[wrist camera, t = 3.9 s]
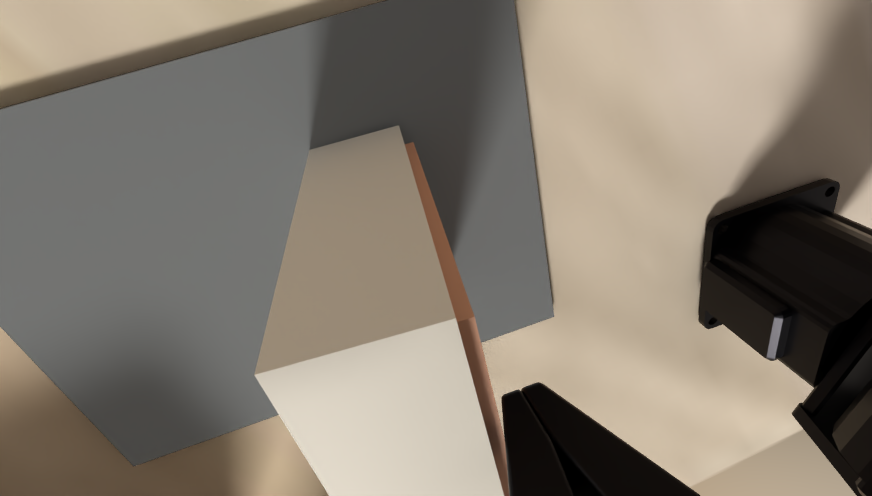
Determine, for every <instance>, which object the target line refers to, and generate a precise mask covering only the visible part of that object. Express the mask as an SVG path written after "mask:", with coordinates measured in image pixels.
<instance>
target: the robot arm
mask: <svg viewBox="0 0 872 496" xmlns="http://www.w3.org/2000/svg"><path fill="white" fill-rule="evenodd" d="M839 188H840V185H839V183H838V182H836V181H834V180H831V179H828V178H826V179H822V180H819V181H816V182H813V183H810V184H808V185H805V186H802V187H799V188H796V189H793V190H790V191H787V192H784V193H782V194H779V195H776V196H773V197H770V198H767V199H764V200H761V201H759V202H756V203H753V204H750V205H747V206H744V207H741V208H738V209H736V210H733V211H730V212H727V213H724V214H721V215H718V216H716V217H714V218H713V219H712V220H711V221H710V222H709V223H708V225H707V228H706V239H705V251H704V262H703V274H702V286H701V297H700V309H699V322H700V323H701V324H702V325H703V326H704V327H705V328H707V329H710V328H714V327H717V326H719V325H722V324H723V325H725V326H726V327H727V328H728V329H730V330H731V331H732V332H733V333H735V334H736V335H737V336H738V337H740V338H741V339H742V340H743V341H745V342H746V343H747V344H748V345H750V346H751V347H752V348H753V349H754V350H756V351H757V352H758V353H759V354H761V355H762V356H763V357H764V358H766V359H768V360H770V361H774V360H777V359H778V360H779V361H781V362H782V363H783V364H785V365H786V366H787V367H788V368H790V369H791V370H792V371H793V372H795V373H796V374H797V375H799V376H800V377H801V378H802V379H804V380H805V381H806V382H807V383H809V384H810V385H811V386H812V387H814V389H813V390H812V392H811V393H810V394H809V396H808V397H807V398H806V400H805V401H804V402H803V403H799V404H798V406H797V407H796V408H795V410H794V411H793V412H792V415H793V416H794V418H795V419H796V420H797V421H798V423H799V424H800V425H801V426H802V428H803V429H804V430H805V431H806V432H807V434H808V435H809V436H810V437H811V439H812V440H813V441H814V443H815V444H816V445H817V446H818V448H819V449H820V450H821V451H822V453H823V454H824V455H825V456H826V458H827V459H828V460H829V461H830V462H831V464H832V465H833V466H834V468H835V469H836V470H837V471H838V473H839V474H840V475H841V476H842V478H843V479H844V480H845V481H846V483H847V484H848V485H849V486H850V488H851V489H852V490H853V491H854V493H855V494H856V495H857V496H872V229H870V228H868V227H866V226H863V225H861V224H859V223H857V222H854V221H852V220H850V219H847V218H845V217H843V216H840V215H838V214H836V213H834V209H835V204H836V200H837V196H838V192H839ZM502 412H503V425H504V437H505V449H506V461H507V474H508V486H509V496H700V495H699V494H698V493H696V492H695V491H694V490H692V489H691V488H689V487H688V486H686V485H685V484H684V483H682V482H681V481H679V480H678V479H677V478H675V477H674V476H672V475H671V474H670V473H668V472H667V471H665V470H664V469H662V468H661V467H660V466H658V465H657V464H655V463H654V462H653V461H651V460H650V459H648V458H647V457H646V456H644V455H643V454H641V453H640V452H638V451H637V450H636V449H634V448H633V447H631V446H630V445H629V444H627V443H626V442H624V441H623V440H622V439H620V438H619V437H617V436H616V435H614V434H613V433H612V432H610V431H609V430H607V429H606V428H605V427H603V426H602V425H600V424H599V423H597V422H596V421H595V420H593V419H592V418H590V417H589V416H588V415H586V414H585V413H583V412H582V411H581V410H579V409H578V408H576V407H575V406H573V405H572V404H571V403H569V402H568V401H566V400H565V399H564V398H562V397H561V396H559V395H558V394H557V393H555V392H554V391H552V390H551V389H549V388H548V387H547V386H545V385H544V384H542V383H539V382H538V383H534V384H532V385H529V386H526V387H524V388H522V390H521V391H520V390H515V391H513V392H510V393H507V394H504V395H503V396H502Z"/></svg>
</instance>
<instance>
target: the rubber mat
mask: <svg viewBox="0 0 872 496" xmlns="http://www.w3.org/2000/svg"><path fill="white" fill-rule="evenodd" d="M397 125H399V127H400V131H401V134H402V137H403V141H404V144H408V143H411V142H413V143H414V145H415V148H416V151H417V154H418V157H419V160H420V162H421V165H422V168H423V171H424V174H425V177H426V180H427V182H428V185H429V188H430V191H431V194H432V197H433V200H434V202H435V205H436V208H437V211H438V214H439V217H440V219H441V222H442V225H443V228H444V231H445V234H446V237H447V239H448V242H449V245H450V248H451V251H452V254H453V257H454V259H455V262H456V265H457V268H458V271H459V274H460V276H461V279H462V282H463V285H464V288H465V291H466V294H467V296H468V299H469V302H470V305H471V308H472V311H473V314H474V316H475V320H476V324H477V328H478V332H479V337H480V341H481V343H482V342H484V341H487V340H490V339H493V338H496V337H498V336H501V335H504V334H507V333H510V332H512V331H515V330H518V329H521V328H524V327H526V326H529V325H532V324H535V323H538V322H540V321H543V320H546V319H549V318H552V317H554V312H553V304H552V296H551V288H550V280H549V272H548V265H547V257H546V249H545V241H544V233H543V225H542V217H541V209H540V201H539V194H538V186H537V178H536V170H535V162H534V154H533V146H532V138H531V131H530V123H529V115H528V107H527V99H526V91H525V83H524V75H523V67H522V60H521V52H520V44H519V36H518V28H517V20H516V12H515V4H514V0H386V1H382V2H379V3H375V4H371V5H368V6H364V7H361V8H357V9H354V10H350V11H346V12H343V13H339V14H336V15H332V16H329V17H325V18H322V19H318V20H314V21H311V22H307V23H304V24H300V25H297V26H293V27H289V28H286V29H282V30H279V31H275V32H272V33H268V34H264V35H261V36H257V37H254V38H250V39H247V40H243V41H240V42H236V43H232V44H229V45H225V46H222V47H218V48H215V49H211V50H207V51H204V52H200V53H197V54H193V55H190V56H186V57H183V58H179V59H175V60H172V61H168V62H165V63H161V64H158V65H154V66H150V67H147V68H143V69H140V70H136V71H133V72H129V73H126V74H122V75H118V76H115V77H111V78H108V79H104V80H101V81H97V82H93V83H90V84H86V85H83V86H79V87H76V88H72V89H68V90H65V91H61V92H58V93H54V94H51V95H47V96H44V97H40V98H36V99H33V100H29V101H26V102H22V103H19V104H15V105H11V106H8V107H4V108H1V109H0V327H1V328H2V329H3V330H4V331H5V332H6V333H7V334H8V335H9V336H10V337H11V339H12V340H13V341H14V342H15V343H16V344H17V345H18V346H19V347H20V348H21V349H22V350H23V351H24V352H25V353H26V354H27V355H28V356H29V357H30V358H31V359H32V361H33V362H34V363H35V364H36V365H37V366H38V367H39V368H40V369H41V370H42V371H43V372H44V373H45V374H46V375H47V376H48V377H49V378H50V379H51V380H52V381H53V383H54V384H55V385H56V386H57V387H58V388H59V389H60V390H61V391H62V392H63V393H64V394H65V395H66V396H67V397H68V398H69V399H70V400H71V401H72V402H73V403H74V404H75V406H76V407H77V408H78V409H79V410H80V411H81V412H82V413H83V414H84V415H85V416H86V417H87V418H88V419H89V420H90V421H91V422H92V423H93V424H94V425H95V426H96V428H97V429H98V430H99V431H100V432H101V433H102V434H103V435H104V436H105V437H106V438H107V439H108V440H109V441H110V442H111V443H112V444H113V445H114V446H115V447H116V448H117V450H118V451H119V452H120V453H121V454H122V455H123V456H124V457H125V458H126V459H127V460H128V461H129V462H130V463H131V464H132V465H133V466H136V465H139V464H142V463H145V462H148V461H150V460H153V459H156V458H159V457H162V456H164V455H167V454H170V453H173V452H176V451H178V450H181V449H184V448H187V447H190V446H192V445H195V444H198V443H201V442H204V441H207V440H209V439H212V438H215V437H218V436H221V435H223V434H226V433H229V432H232V431H235V430H237V429H240V428H243V427H246V426H249V425H251V424H254V423H257V422H260V421H263V420H265V419H268V418H271V417H274V416H277V415H279V414H278V413H277V411H276V409H275V408H274V406H273V405H272V403H271V401H270V400H269V398H268V396H267V395H266V393H265V392H264V390H263V388H262V387H261V385H260V384H259V382H258V380H257V379H256V377H255V376H254V374H255V370H256V366H257V362H258V358H259V354H260V350H261V345H262V341H263V337H264V333H265V329H266V325H267V321H268V317H269V313H270V309H271V305H272V301H273V296H274V292H275V288H276V284H277V280H278V276H279V272H280V268H281V264H282V260H283V256H284V252H285V247H286V243H287V239H288V235H289V231H290V227H291V223H292V219H293V215H294V211H295V207H296V203H297V199H298V194H299V190H300V186H301V182H302V178H303V174H304V170H305V166H306V162H307V158H308V154H309V150H311V149H314V148H318V147H322V146H325V145H329V144H332V143H336V142H340V141H343V140H347V139H351V138H354V137H358V136H361V135H365V134H369V133H372V132H376V131H379V130H383V129H387V128H390V127H394V126H397Z"/></svg>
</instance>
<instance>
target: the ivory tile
mask: <svg viewBox="0 0 872 496" xmlns="http://www.w3.org/2000/svg"><path fill="white" fill-rule="evenodd" d="M254 376H255V377H256V379H257V380H258V382H259V384H260V385H261V387H262V388H263V390H264V392H265V393H266V395H267V396H268V398H269V400H270V401H271V403H272V405H273V406H274V408H275V409H276V411H277V413H278V414H279V416H280V417H281V419H282V421H283V422H284V424H285V425H286V427H287V429H288V430H289V432H290V434H291V435H292V437H293V438H294V440H295V442H296V443H297V445H298V446H299V448H300V450H301V451H302V453H303V454H304V456H305V458H306V459H307V461H308V463H309V464H310V466H311V467H312V469H313V471H314V472H315V474H316V475H317V477H318V479H319V480H320V482H321V483H322V485H323V487H324V488H325V490H326V492H327V493H328V495H329V496H509V486H508V474H507V461H506V449H505V439H504V435H503V431H502V427H501V423H500V419H499V415H498V410H497V406H496V402H495V398H494V394H493V390H492V386H491V382H490V378H489V374H488V369H487V365H486V361H485V357H484V353H483V349H482V345H481V341H480V337H479V332H478V328H477V324H476V320H475V316H474V314H473V311H472V308H471V305H470V302H469V299H468V296H467V294H466V291H465V288H464V285H463V282H462V279H461V276H460V274H459V271H458V268H457V265H456V262H455V259H454V257H453V254H452V251H451V248H450V245H449V242H448V239H447V237H446V234H445V231H444V228H443V225H442V222H441V219H440V217H439V214H438V211H437V208H436V205H435V202H434V200H433V197H432V194H431V191H430V188H429V185H428V182H427V180H426V177H425V174H424V171H423V168H422V165H421V162H420V160H419V157H418V154H417V151H416V148H415V145H414V143H413V142H411V143H408V144H404V141H403V137H402V134H401V131H400V127H399V125H397V126H394V127H390V128H387V129H383V130H379V131H376V132H372V133H369V134H365V135H361V136H358V137H354V138H351V139H347V140H343V141H340V142H336V143H332V144H329V145H325V146H322V147H318V148H314V149H311V150H309V154H308V158H307V162H306V166H305V170H304V174H303V178H302V182H301V186H300V190H299V194H298V199H297V203H296V207H295V211H294V215H293V219H292V223H291V227H290V231H289V235H288V239H287V243H286V247H285V252H284V256H283V260H282V264H281V268H280V272H279V276H278V280H277V284H276V288H275V292H274V296H273V301H272V305H271V309H270V313H269V317H268V321H267V325H266V329H265V333H264V337H263V341H262V345H261V350H260V354H259V358H258V362H257V366H256V370H255V374H254Z"/></svg>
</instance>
